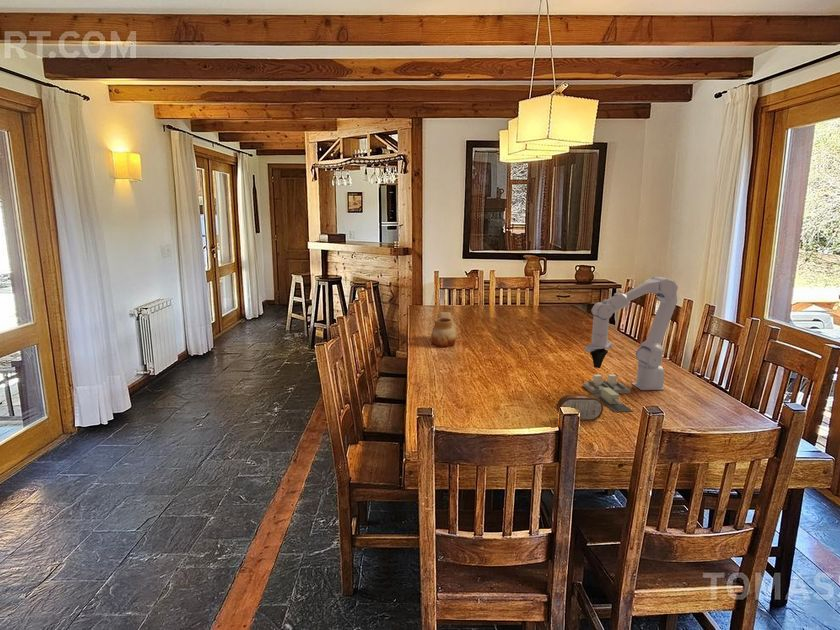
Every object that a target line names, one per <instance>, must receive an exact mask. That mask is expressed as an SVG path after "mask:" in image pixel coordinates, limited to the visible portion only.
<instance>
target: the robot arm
mask: <svg viewBox="0 0 840 630" xmlns="http://www.w3.org/2000/svg"><path fill="white" fill-rule="evenodd" d="M678 289H679V286H678V284H677V283H676V282H675V280H673V279H672V278H667V277H661V276H659V275H655V276H652V277H650V278H648V279H646V280H645V281H644V282H642V283H641V284H639V285H637V286H635V287H633V288H632V289H630V290H629V291H627V292H625V293H624V292H623V293H622V292H615V293H613V296H611V297H609V298H607V299H603V300H602V301H601V302H600V301H599V302H596V303H594V305H593V306H592V308H591V315H593V320H592V329H591V330H592V331H591V343H590V344H588V345H586V346H584V352H586V353H589V354H590V356H591V359H592V363H593V368H597V369H601V366H602V363H604V362H603V361H604V360H605V357H606V355H608V353H609V350H608V349H609V348H610V349H611V348H612V347H613V342H610V341H608V336H609V325H610V319H611V317H612V316H613V314H614V313H616V312H618V311H620V310H622V309H624V308H626V307H628V305H629V302H631V301H633V300H635V299H637V298H639V297H641V296H644V295H646V294H648V293H649V294H655V296H656V297H657V299H658V300H659V302H660V303H659V306H658V308H657V310H656V313H655V315H654V319H653V321H652V324H651V328H650V330H649V333H648V336H647V337H646V340H644V341H642V342H641V344H640V346H639V348H637V350H636V351H635V358H636V359H637V371H636V372H637V373H636V382H631V384H632V385H633V386H635V388H638V389H639V390H641V391H652V390H654V391H658V390H659V391H661V390H665V388H664V381H665V370H664V369H665V368H663V366H662V365H661V364H662V362H663V353H664V349H663V345H662V343H663V341H664V338H665V335H666V333H667V330H668V327H669V325H670V322H671V319H672V318H673V317H672V316H673V314H674V312H675V311H674V310H675V308H676V306H677V303H678V296H677V291H678Z"/></svg>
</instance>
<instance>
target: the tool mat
mask: <svg viewBox="0 0 840 630" xmlns="http://www.w3.org/2000/svg"><path fill="white" fill-rule="evenodd" d="M592 395H594V396H596V397H598V398H599V400H600V401H601V402H602V404H603V405H604V406H606V407H607V408H608V409H609V410H610V411H612V412H613V413H633V412H634V411H633V409H631V408H630V407H628V406H627V405H626V404H625V403H623V402H622V401H620V402H621V403H622V406H620V405H619V404H609V403H608V402H607V401H606V400H605V399H603V398H602V397H601V394H592Z"/></svg>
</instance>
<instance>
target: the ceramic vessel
mask: <svg viewBox="0 0 840 630" xmlns="http://www.w3.org/2000/svg"><path fill="white" fill-rule="evenodd" d="M433 322H434V325H433V327H432V331H431V334H430V342H431V344H432V345H433V346H435V347H438V348H445V349H446V348H448V347H454V346H455V344H456V340H457V339H458V327H457V324H456V323H455V321H454V319H453V316H452V312H449V311H440V312H438V315H437V318H435V319H434V321H433Z"/></svg>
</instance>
